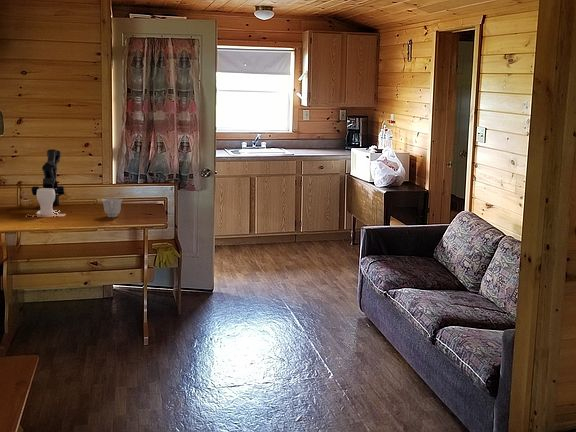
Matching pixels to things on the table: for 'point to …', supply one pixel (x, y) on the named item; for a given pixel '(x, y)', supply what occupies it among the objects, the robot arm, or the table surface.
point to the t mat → (49, 215)
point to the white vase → (46, 200)
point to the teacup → (112, 206)
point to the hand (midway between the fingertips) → (47, 201)
